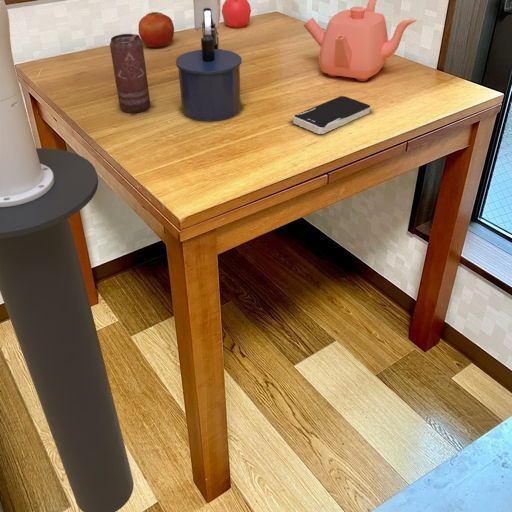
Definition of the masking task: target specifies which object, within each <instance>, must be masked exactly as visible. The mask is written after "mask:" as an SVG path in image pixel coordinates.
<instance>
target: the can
mask: <svg viewBox="0 0 512 512" xmlns="http://www.w3.org/2000/svg"><path fill="white" fill-rule="evenodd" d="M109 49H110V55H111V60H112V61H111V62H112V67H113V68H112V69H113V74H114V79H115V85H116V93H117V98H118V106H119V108H120V110H121V111H122V112H124V113H127V114H140V113H143V112H146V111H147V110H148V109H149V108H150V106H151V99H150V91H149V84H148V82H149V81H148V76H147V75H148V74H147V67H146V58H145V52H144V42H143V41H142V39H141V37H140V35H139V34H137V33H136V34H135V33H122V34H117V35H114V36H112V37H111V38H110V42H109Z"/></svg>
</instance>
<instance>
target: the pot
mask: <svg viewBox="0 0 512 512" xmlns="http://www.w3.org/2000/svg"><path fill="white" fill-rule="evenodd" d="M240 66H241V65H240ZM240 66H239V67H237V68H235V69H233V70H231V71H228V72H223V73H218V74H194V73H189V72H185V71H182V70H180V69H179V68H178V67H177V70H178V79H179V80H178V81H179V89H180V102H181V109H182V113H183V115H185V116H186V117H187V118H189V119H192V120H195V121H200V122H220V121H224V120H228V119H231V118H233V117H235V116H237V115H238V114H239V113H240V111H241V107H242V106H241V105H242V104H241V101H242V99H241V97H242V96H241V69H240V68H241V67H240Z"/></svg>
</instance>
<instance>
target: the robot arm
mask: <svg viewBox="0 0 512 512" xmlns="http://www.w3.org/2000/svg"><path fill="white" fill-rule="evenodd" d="M192 1H193V19H194V30H196V31H198V32H199V30H201V33H202V34H201V35H202V38H203V37H213V38H214V49H218V46H219V45H220V44H219V42H220V41H219V36H217V41H218V43H216V32H218V29H220V20H221V19H220V18H221V0H192ZM10 25H11V24H10V16H9V11H8V7H7V4H6V2H5V0H0V207H11V206H17V205H21V204H25V203H28V202H31V201H33V200H35V199H37V198H39V197H41V196H43V195H44V194H46V193H47V192H48V191H49V190H50V189H51V187H52V186H53V184H54V175H53V172H52V170H51V169H50V168H49V167H47V166H45V165H43V164H40V162H39V158H38V154H37V150H36V148H37V147H36V143H35V140H34V135H33V131H32V127H31V124H30V119H29V116H28V112H27V108H26V104H25V101H24V97H23V93H22V90H21V85H20V81H19V79H18V75H17V70H16V65H15V62H14V57H13V51H12V43H11V26H10ZM212 32H213V34H212ZM219 47H220V46H219Z"/></svg>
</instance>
